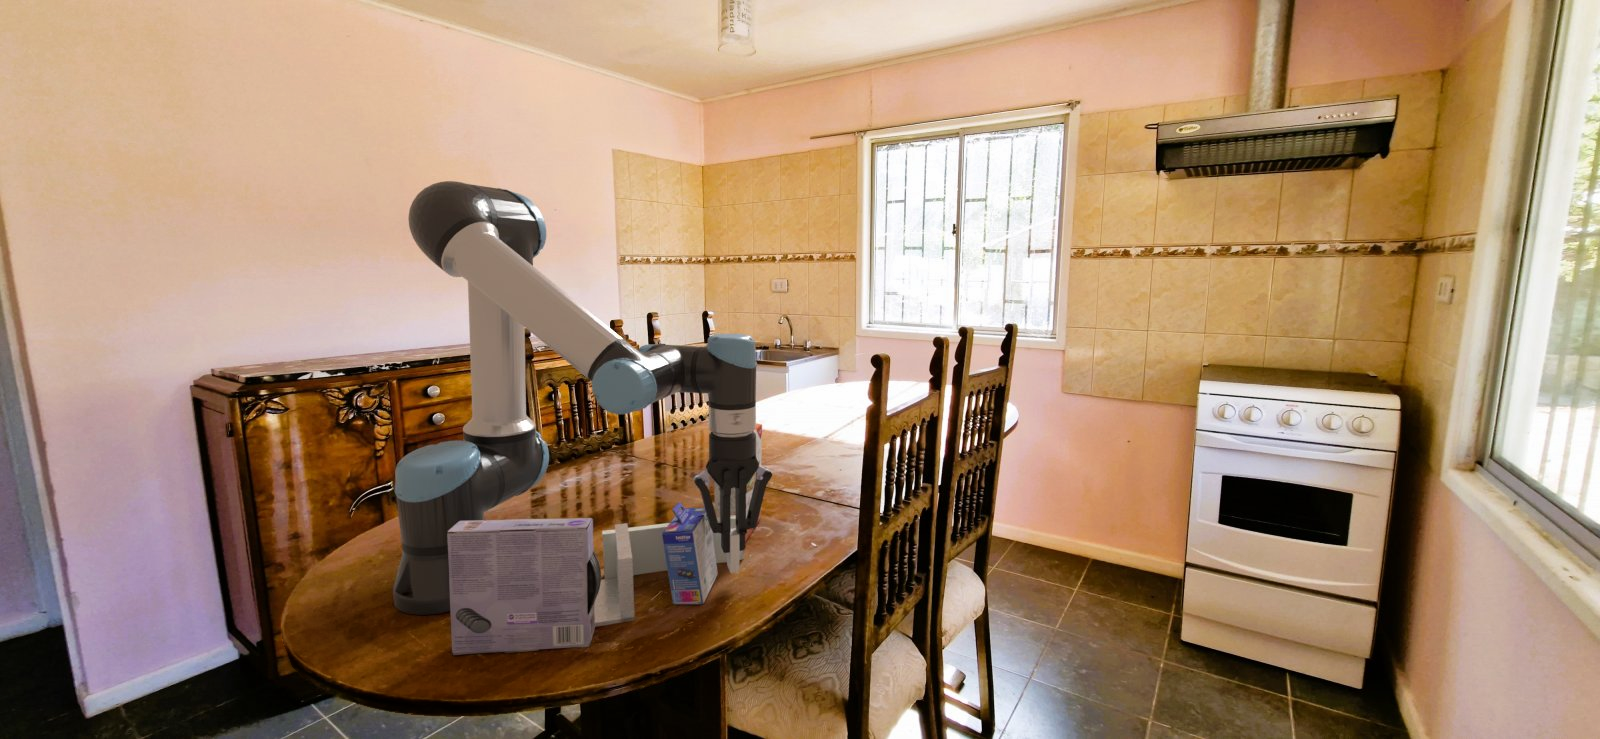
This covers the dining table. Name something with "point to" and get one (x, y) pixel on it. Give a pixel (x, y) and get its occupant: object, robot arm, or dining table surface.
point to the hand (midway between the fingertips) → (733, 568)
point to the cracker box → (749, 486)
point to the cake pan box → (522, 584)
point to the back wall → (650, 549)
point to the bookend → (617, 585)
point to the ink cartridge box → (689, 555)
